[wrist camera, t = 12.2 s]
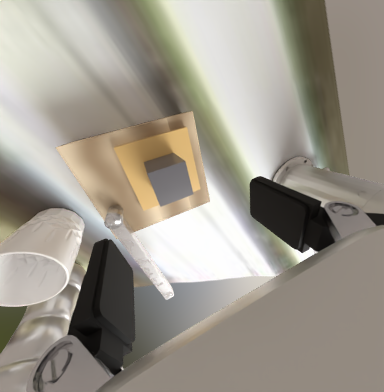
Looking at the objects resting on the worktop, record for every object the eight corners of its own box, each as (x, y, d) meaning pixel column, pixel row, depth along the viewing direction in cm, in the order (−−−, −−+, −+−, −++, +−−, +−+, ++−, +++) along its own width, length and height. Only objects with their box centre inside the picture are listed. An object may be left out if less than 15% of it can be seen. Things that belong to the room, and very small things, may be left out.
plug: (178, 126, 22) (203, 128, 15) (191, 180, 27) (215, 204, 19) (116, 143, 20) (107, 156, 13) (141, 198, 25) (146, 232, 17)
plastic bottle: (50, 254, 26) (-106, 509, 9) (94, 259, 29) (44, 453, 12) (39, 281, 27) (-114, 548, 10) (83, 284, 30) (22, 488, 13)
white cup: (68, 252, 27) (39, 312, 18) (13, 230, 22) (-58, 296, 14) (99, 221, 26) (84, 268, 18) (49, 194, 22) (-2, 239, 14)
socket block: (181, 113, 23) (192, 111, 19) (199, 190, 30) (210, 201, 26) (71, 142, 20) (55, 147, 16) (118, 220, 27) (116, 239, 23)
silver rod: (172, 283, 31) (175, 295, 29) (163, 287, 31) (165, 301, 29) (118, 202, 21) (117, 212, 18) (104, 208, 20) (100, 219, 18)
